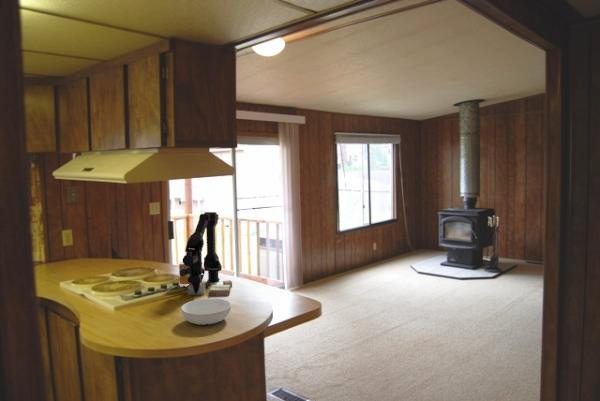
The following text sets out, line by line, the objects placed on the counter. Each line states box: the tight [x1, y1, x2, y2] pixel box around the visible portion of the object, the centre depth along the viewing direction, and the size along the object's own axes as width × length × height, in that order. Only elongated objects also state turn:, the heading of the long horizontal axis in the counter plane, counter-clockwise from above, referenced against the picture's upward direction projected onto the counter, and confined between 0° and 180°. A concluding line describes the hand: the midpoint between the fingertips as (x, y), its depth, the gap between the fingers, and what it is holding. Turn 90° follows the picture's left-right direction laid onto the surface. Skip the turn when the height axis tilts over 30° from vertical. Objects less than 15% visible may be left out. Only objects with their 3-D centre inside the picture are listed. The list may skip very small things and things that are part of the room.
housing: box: [187, 282, 206, 296], centre depth 241 cm, size 5×8×5 cm, turn 92°
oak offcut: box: [222, 279, 233, 288], centre depth 253 cm, size 4×4×3 cm
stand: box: [208, 284, 232, 297], centre depth 241 cm, size 10×10×3 cm
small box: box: [178, 261, 190, 285], centre depth 255 cm, size 8×6×13 cm
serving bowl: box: [180, 297, 232, 326], centre depth 199 cm, size 21×21×7 cm
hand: (197, 291), depth 241 cm, fingers open, 7 cm apart
